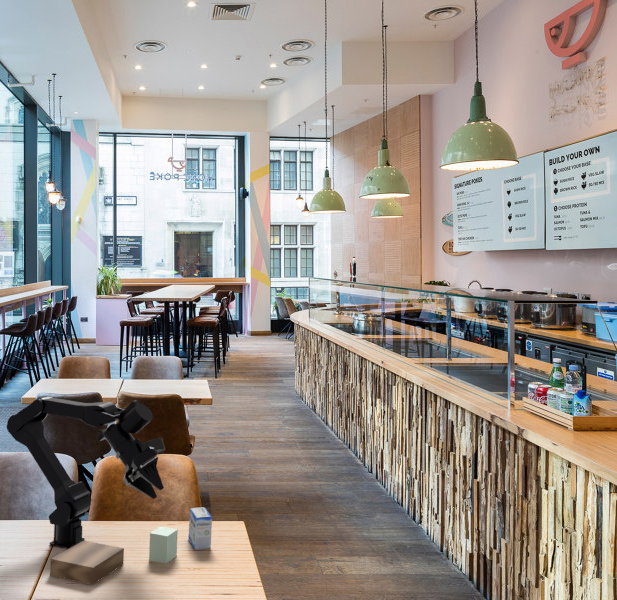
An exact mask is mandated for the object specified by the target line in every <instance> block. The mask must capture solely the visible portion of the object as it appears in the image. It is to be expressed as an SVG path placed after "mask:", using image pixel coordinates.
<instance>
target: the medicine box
mask: <svg viewBox="0 0 617 600" xmlns="http://www.w3.org/2000/svg"><path fill="white" fill-rule="evenodd" d="M188 521H189V523H188V540H189V542H190V544H191V545H192V547H193V548H194V550H195V551H196V550H207V549H211V545H212V528H213V527H212V526H213V525H212V524H213V517H212V515H211V514H210V512H209V511H208V509H206V507H191V508H190V509H189V520H188Z"/></svg>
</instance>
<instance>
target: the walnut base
mask: <svg viewBox="0 0 617 600" xmlns="http://www.w3.org/2000/svg"><path fill="white" fill-rule="evenodd" d="M124 555H125V548H124V547H119V546H115V545H109V544H103V543H98V542H95V541H87V540H84V541H82V542H80V543H78V544H76V545H74V546H73V547H71V548H69V549H67V548H66V550H64V551H62V552H60V553H59V554H57V555H55V556H53V557H51V558H50V563H49V564H50V566H49V567H50V568H49V576H50V577H54V578H60V579H64V580H68V581H73V582H78V583H83V584H87V585H91V586H92V585H95V584H96V583H98V582H99V581H101V580H102V579H103V577H104V578H106V575H107V576H109V573H110V574H111V573H113V572H114V571H115V569H116V568H117V569H118V567H119V566H120V567H122V566H123V565H124ZM122 564H123V565H122ZM121 565H122V566H121ZM120 567H119V568H120ZM117 569H116V570H117ZM112 571H113V572H112ZM101 578H102V579H101ZM100 579H101V580H100ZM98 580H99V581H98ZM97 581H98V582H97ZM94 583H95V584H94Z"/></svg>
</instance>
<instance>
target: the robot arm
mask: <svg viewBox="0 0 617 600" xmlns="http://www.w3.org/2000/svg"><path fill="white" fill-rule="evenodd" d="M48 415H55V416H60V417H66V418H71V419H77V420H80V421H81V422H83V423H84V424H86V425H88V426H90V427H93V428H96V429H97V428H101V427H104V426H107V425H109V426H107V428H102V429H99V430H98V436H97V442H101V441H104V440H106V442H107V443H108V444H109V445H110V447H111V448H112V450H113V451H114V452H115V458H116V459H117V460H120V462H121V463H122V464H123V466H124V471H125V473H124V475H123V478H122V480H123V483H124V484H125V485H126V486H127V487H129V488H132V489H135V491H138V492H140V493H142V494H144V495H145V496H147V497H149V498H150V499H152V500H155V499H157V498H158V496H157V494H156V491H155V489H154V488H156V489H157V490H159V491H162V490H164V489H165V487H164V485H163V482H162V478H161V475H160V474H159V470H158V466H157V465H158V461H159V455H162V454H164V451H165V450H166V447H165V443H164V440H163V437H158V438H155V439H154V438H153V439H150V440H147V441H144V442H141V440H140V439H139V438H136V439H135V437H134V436H133V435H132V434H138V433H139V432H140V431H141V430H143V429H144V428H145V426H147V425H148V424H149V423H150V422H151V421H152V420H153V418H154V416H153V412H152V411H151V409H150V408H149V407H147V406H146V405H145V404H142V403H140V402H139V400H138V399H135V400H132V401H131V402H130V403H129V404H128V406H127V407H125V408H120V407H118V406H117V405H116V404H115V402H112V401H99V402H80V401H74V400H69V399H62V398H56V397H52V396H50V395H46V396H41V397H38V398H35V399H34V400H33V401H32V402H31V403H30V404H29V405H27V406H25V407H24V408H23V409H21V410H20V411H18V412H17V413H16V414H12V415H10V417H9V418H8V420H7V423H6V429H7V432H8V433H9V435H11V437H12V438H13V439H14V440H15V442H18V443H20V444H21V445H22V446H24V447H25V448H27V450H28V452H29V453H30V455H31V456H32V458H33V459H34V461H35V462H36V464H37V466H38V467H39V469H40V471H41V472H42V474H43V476H44V477H45V478H46V480H47V482H48V484H49V485H50V486H51V488H52V490H53V492H54V504H55V507H56V508H55V509H54V511H53V512H51V513H50V514H49V515H48V520H49V523H50V525H54V526H53V528H54V529H53V540H52V541H50V542H49V546H53V547H59V548H63V549H66V550H67V549H69V548H71V547H73V546H74V545H76V544H78V543H80V542H82V541H86V540H85V539H86V538H85V537H83V525H82V519H81V518H82V517H85V516H86V514H87V511H88V510H89V509H90V507H91V506H92V505H91V504H92V497H91V495H90V494H91V491H89V490H88V488H87V487H86V485H85V482H83V481H79V482H76V481H74V480H72V479H71V477H70V475H69V473H68V472H67V470H66V469H65V468H64V465H62V463H61V462H60V460H59V458H58V457H57V454H56V453H55V452H54V450H53V449H52V447H51V446H50V444H49V443H48V441H47V438H46V437H45V426H44V424H43V421H45V419H47V417H48ZM117 421H118V422H117ZM115 422H117V423H115Z"/></svg>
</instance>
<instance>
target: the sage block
mask: <svg viewBox="0 0 617 600" xmlns="http://www.w3.org/2000/svg"><path fill="white" fill-rule="evenodd" d="M148 551H149V554H148V556H149V557H148V560H151V561H150V562H154V561H155V562H154V563H159V562H160V563H161V564H164V563H166V564H165V565H167V564H168V563H169V561H170V562H171V561H173V560H174V559H175V558H177V556H178V555H177V554H178V529H177V528H172V527H166V526H159V527H157V528H156V529H154V530H152V531H150V533H149V550H148ZM173 558H174V559H173Z"/></svg>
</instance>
